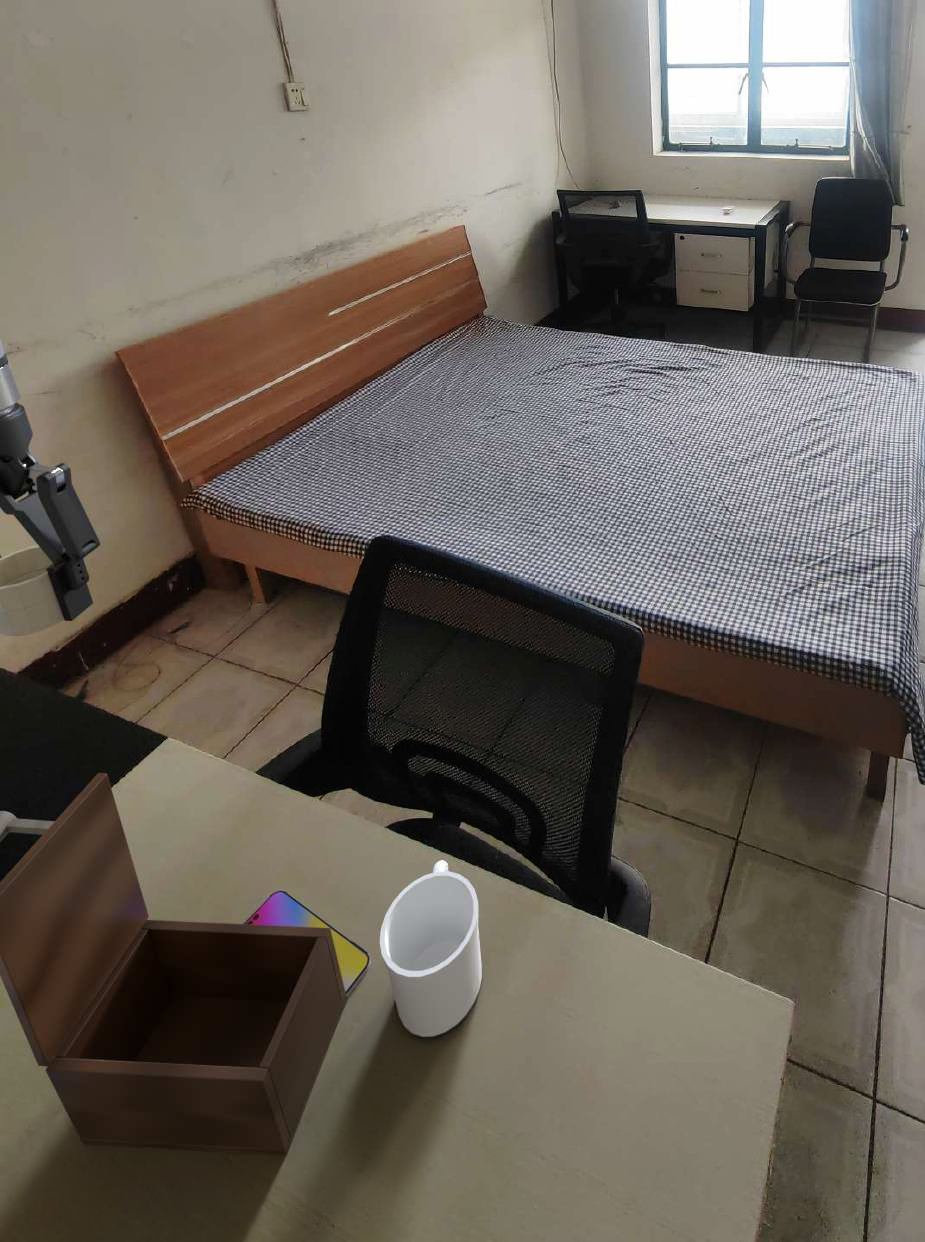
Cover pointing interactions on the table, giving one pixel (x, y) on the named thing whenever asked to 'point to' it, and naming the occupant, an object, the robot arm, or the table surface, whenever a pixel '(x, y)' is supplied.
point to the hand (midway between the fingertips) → (40, 610)
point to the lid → (66, 915)
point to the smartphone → (294, 913)
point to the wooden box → (203, 1038)
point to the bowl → (27, 593)
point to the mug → (433, 952)
